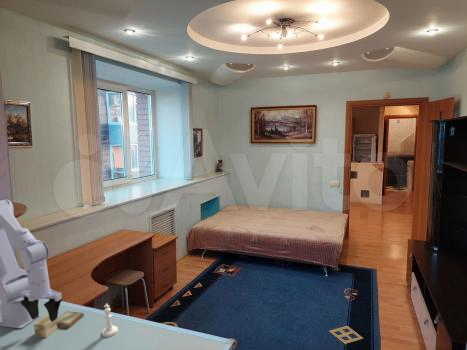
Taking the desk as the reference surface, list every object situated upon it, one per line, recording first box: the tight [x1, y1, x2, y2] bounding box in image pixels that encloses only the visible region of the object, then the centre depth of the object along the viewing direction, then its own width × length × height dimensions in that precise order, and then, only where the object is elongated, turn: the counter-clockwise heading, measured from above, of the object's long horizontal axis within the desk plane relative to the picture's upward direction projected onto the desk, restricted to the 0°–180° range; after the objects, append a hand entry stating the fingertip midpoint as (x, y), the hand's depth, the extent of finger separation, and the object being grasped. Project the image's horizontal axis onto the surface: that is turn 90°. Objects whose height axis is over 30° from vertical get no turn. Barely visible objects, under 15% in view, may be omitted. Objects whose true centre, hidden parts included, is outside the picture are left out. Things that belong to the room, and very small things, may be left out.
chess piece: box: [101, 303, 119, 338], centre depth 103 cm, size 5×5×10 cm
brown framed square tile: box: [56, 311, 85, 329], centre depth 112 cm, size 7×7×1 cm
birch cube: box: [33, 315, 58, 339], centre depth 105 cm, size 4×4×4 cm
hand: (44, 318), depth 105 cm, fingers open, 7 cm apart
